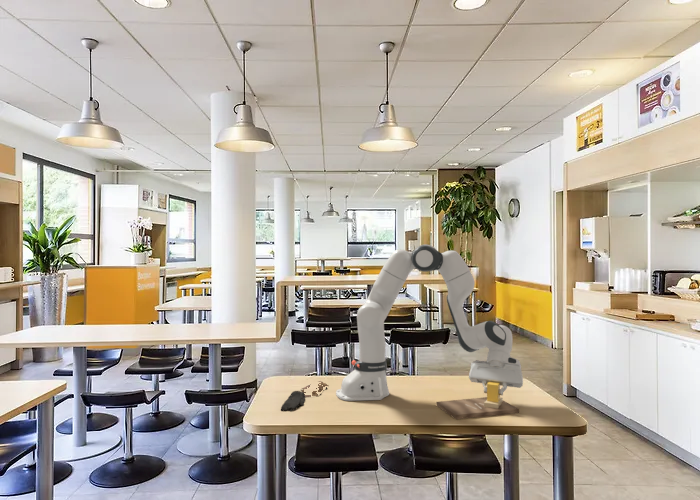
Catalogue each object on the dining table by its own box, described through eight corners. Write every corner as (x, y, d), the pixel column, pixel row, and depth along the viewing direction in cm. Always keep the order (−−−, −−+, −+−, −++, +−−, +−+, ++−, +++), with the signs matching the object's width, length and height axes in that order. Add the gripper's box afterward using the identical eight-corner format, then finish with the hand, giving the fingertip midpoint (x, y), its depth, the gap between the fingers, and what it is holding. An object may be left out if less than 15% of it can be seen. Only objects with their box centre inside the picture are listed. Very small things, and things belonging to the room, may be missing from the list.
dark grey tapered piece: (298, 413, 185) (298, 405, 185) (279, 412, 186) (279, 403, 186) (310, 395, 207) (311, 388, 207) (293, 395, 208) (293, 387, 208)
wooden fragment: (318, 399, 202) (318, 396, 202) (292, 397, 205) (292, 395, 205) (334, 383, 227) (334, 380, 227) (311, 381, 230) (311, 379, 230)
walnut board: (455, 419, 177) (455, 415, 177) (436, 405, 192) (436, 401, 192) (519, 412, 184) (519, 408, 184) (495, 400, 199) (495, 396, 199)
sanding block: (497, 408, 184) (497, 387, 184) (484, 406, 186) (484, 385, 186) (502, 402, 192) (502, 381, 192) (489, 400, 194) (489, 379, 194)
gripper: (470, 355, 200) (464, 385, 191) (523, 360, 190) (519, 392, 182) (473, 364, 204) (467, 394, 195) (525, 369, 194) (521, 401, 186)
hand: (493, 393), depth 188 cm, fingers open, 4 cm apart
